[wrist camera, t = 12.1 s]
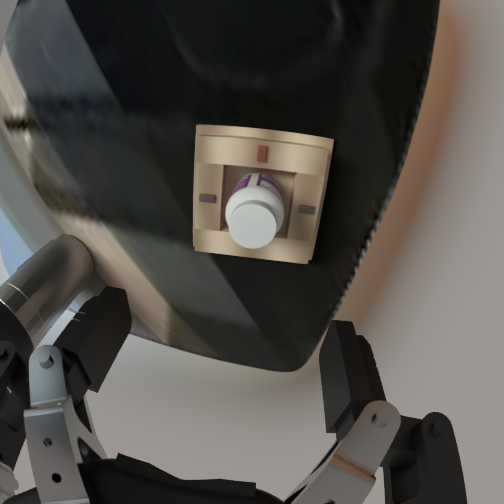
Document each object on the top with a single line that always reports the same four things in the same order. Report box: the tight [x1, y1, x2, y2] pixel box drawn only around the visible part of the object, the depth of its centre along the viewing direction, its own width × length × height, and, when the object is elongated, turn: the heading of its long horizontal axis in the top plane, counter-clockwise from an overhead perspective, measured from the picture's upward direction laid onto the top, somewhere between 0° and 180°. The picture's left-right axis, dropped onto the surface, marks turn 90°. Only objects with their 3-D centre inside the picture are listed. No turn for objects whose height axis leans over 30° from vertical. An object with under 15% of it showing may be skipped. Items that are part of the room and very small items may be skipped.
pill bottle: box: [225, 173, 284, 249], centre depth 27 cm, size 5×5×10 cm
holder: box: [193, 125, 334, 264], centre depth 30 cm, size 15×15×4 cm
